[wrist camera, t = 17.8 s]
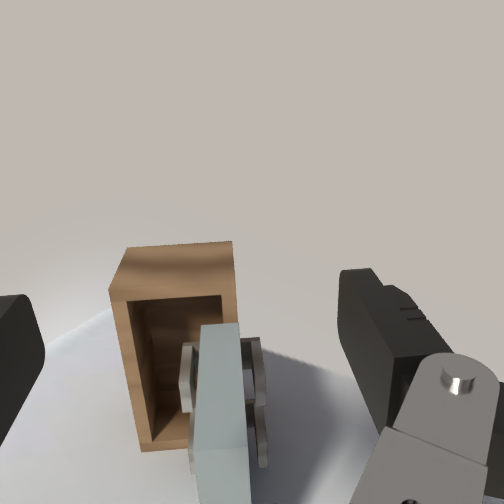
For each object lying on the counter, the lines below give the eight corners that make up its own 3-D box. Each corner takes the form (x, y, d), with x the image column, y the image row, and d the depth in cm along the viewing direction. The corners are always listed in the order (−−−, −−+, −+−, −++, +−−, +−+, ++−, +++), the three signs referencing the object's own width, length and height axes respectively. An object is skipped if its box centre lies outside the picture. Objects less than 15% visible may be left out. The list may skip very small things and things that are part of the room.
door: (214, 458, 41) (201, 325, 34) (246, 455, 41) (238, 322, 34) (213, 606, 30) (192, 451, 23) (256, 602, 30) (247, 446, 24)
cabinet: (152, 392, 49) (127, 247, 41) (256, 384, 49) (250, 239, 42) (133, 495, 37) (93, 321, 30) (268, 482, 38) (263, 309, 30)
